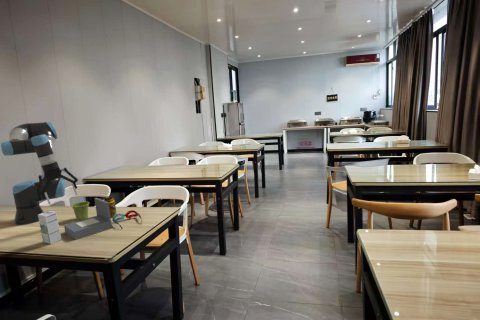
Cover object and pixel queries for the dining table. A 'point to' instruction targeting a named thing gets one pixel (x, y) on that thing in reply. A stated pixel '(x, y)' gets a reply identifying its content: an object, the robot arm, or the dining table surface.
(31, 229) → the dining table surface
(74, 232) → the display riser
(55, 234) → the syrup box
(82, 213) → the plant pot
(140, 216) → the novelty glasses
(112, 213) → the condiment
